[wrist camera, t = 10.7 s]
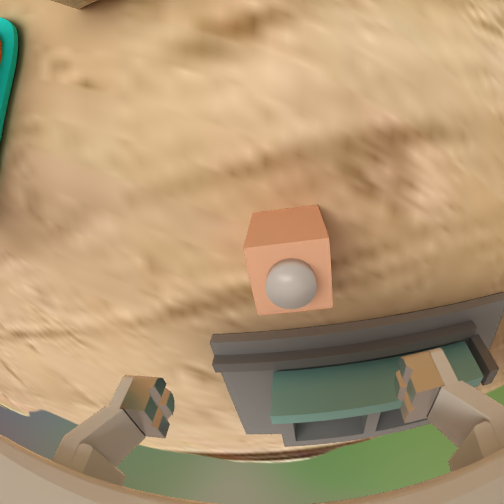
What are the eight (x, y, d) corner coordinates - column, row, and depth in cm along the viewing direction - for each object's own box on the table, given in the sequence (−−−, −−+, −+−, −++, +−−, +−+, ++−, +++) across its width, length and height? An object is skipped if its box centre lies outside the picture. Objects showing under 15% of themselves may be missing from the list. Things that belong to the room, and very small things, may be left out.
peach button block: (317, 204, 18) (331, 245, 13) (322, 261, 20) (334, 317, 14) (252, 212, 18) (241, 256, 13) (263, 268, 20) (256, 324, 15)
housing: (502, 292, 19) (534, 332, 14) (461, 393, 25) (476, 430, 20) (212, 334, 23) (196, 390, 18) (247, 427, 30) (241, 470, 25)
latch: (464, 340, 20) (483, 376, 16) (460, 350, 20) (478, 385, 17) (273, 371, 23) (270, 416, 19) (274, 380, 23) (272, 424, 19)
